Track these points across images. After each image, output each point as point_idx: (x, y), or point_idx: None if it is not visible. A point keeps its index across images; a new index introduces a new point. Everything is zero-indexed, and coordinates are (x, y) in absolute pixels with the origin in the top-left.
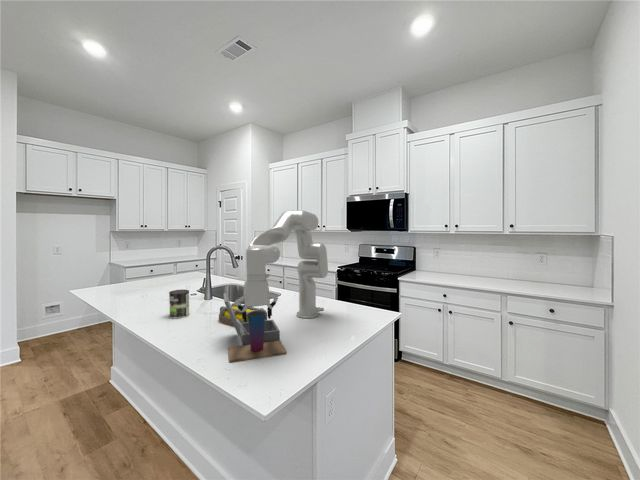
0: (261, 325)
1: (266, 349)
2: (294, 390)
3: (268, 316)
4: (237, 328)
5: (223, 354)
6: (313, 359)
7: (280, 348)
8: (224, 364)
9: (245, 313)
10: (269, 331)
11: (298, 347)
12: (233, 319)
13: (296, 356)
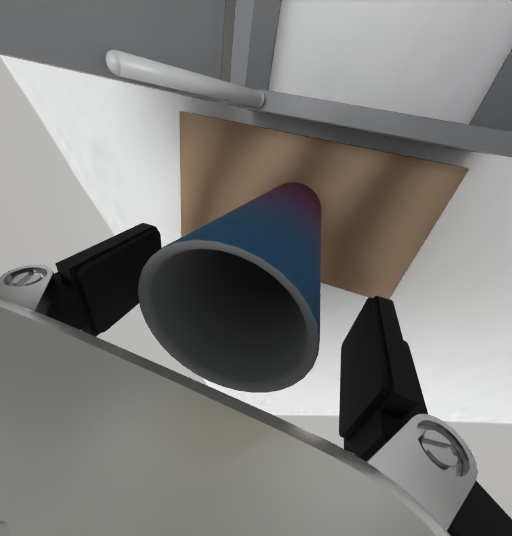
0: (273, 317)
1: (327, 238)
2: (289, 411)
3: (347, 349)
4: (168, 91)
5: (169, 155)
6: (434, 375)
7: (387, 265)
8: (173, 237)
9: (102, 328)
10: (431, 129)
11: (487, 278)
12: (71, 68)
13: (403, 330)
